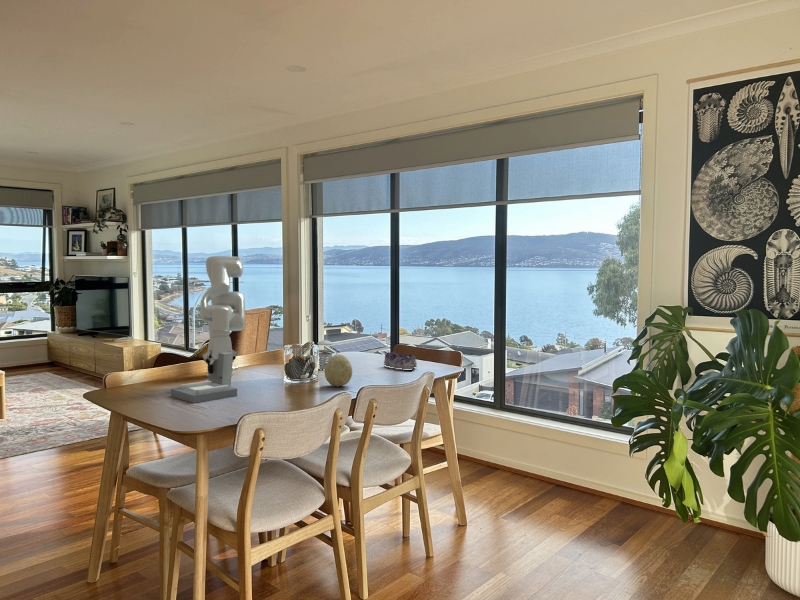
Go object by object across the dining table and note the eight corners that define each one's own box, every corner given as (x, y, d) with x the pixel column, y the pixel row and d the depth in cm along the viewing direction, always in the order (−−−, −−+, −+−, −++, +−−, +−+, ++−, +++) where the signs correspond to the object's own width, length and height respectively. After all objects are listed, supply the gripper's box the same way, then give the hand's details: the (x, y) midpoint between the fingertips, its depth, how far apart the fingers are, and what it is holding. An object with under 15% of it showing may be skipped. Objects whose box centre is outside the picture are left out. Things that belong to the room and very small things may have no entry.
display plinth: (213, 389, 272) (213, 379, 271) (237, 395, 260) (237, 385, 260) (170, 395, 256) (170, 385, 256) (194, 403, 245) (194, 391, 244)
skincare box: (207, 386, 277) (207, 351, 276) (218, 384, 284) (218, 349, 283) (222, 388, 274) (222, 353, 273) (233, 386, 280) (233, 351, 279)
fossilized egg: (324, 383, 291) (325, 352, 290) (352, 384, 292) (352, 352, 291) (323, 389, 278) (324, 356, 277) (351, 389, 279) (352, 356, 278)
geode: (377, 368, 337) (378, 350, 338) (388, 368, 347) (390, 350, 348) (409, 371, 327) (410, 352, 327) (420, 371, 336) (421, 352, 337)
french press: (318, 366, 337) (318, 321, 336) (338, 367, 335) (339, 321, 334) (313, 369, 327) (313, 322, 326) (334, 370, 326) (335, 323, 324)
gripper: (232, 332, 286) (231, 369, 287) (198, 334, 273) (198, 373, 274) (241, 333, 281) (241, 371, 282) (207, 336, 268) (207, 375, 269)
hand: (220, 372), depth 278 cm, fingers open, 9 cm apart
